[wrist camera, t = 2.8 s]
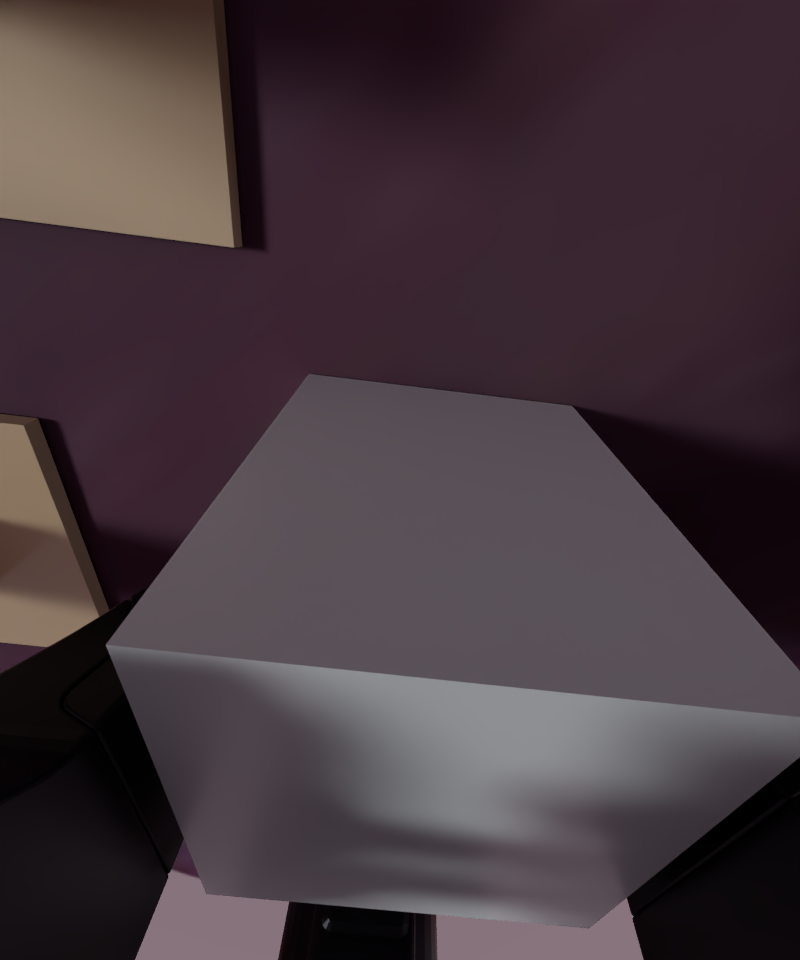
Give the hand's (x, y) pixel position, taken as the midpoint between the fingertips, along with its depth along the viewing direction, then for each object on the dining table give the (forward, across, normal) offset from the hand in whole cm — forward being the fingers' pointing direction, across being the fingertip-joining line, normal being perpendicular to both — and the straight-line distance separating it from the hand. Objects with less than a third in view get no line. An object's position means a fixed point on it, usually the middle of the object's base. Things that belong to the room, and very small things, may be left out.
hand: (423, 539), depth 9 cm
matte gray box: (+2, 0, 0) cm, 2 cm away
